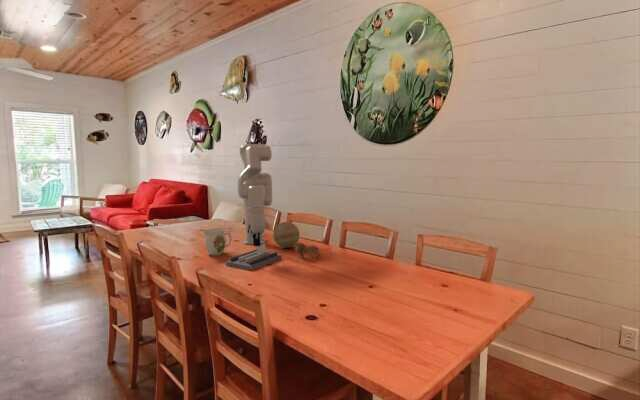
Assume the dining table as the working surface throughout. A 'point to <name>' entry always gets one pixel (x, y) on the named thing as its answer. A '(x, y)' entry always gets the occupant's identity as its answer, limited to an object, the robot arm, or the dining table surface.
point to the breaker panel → (251, 267)
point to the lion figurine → (306, 249)
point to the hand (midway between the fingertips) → (256, 245)
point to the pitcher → (216, 240)
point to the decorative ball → (286, 234)
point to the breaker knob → (261, 247)
